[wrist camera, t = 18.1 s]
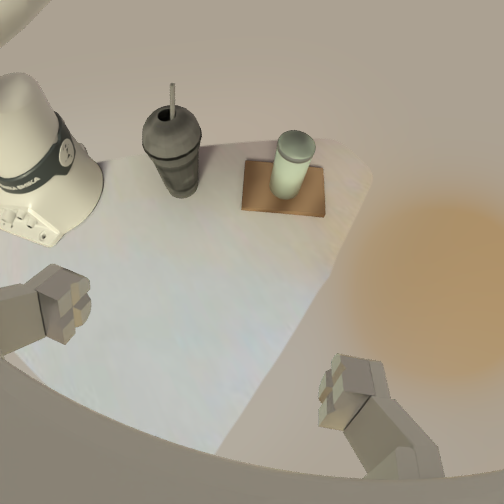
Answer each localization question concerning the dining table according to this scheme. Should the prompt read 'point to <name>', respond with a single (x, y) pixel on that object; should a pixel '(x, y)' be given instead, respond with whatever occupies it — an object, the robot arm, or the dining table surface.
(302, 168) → the sage tube
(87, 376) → the dining table surface
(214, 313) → the dining table surface
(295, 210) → the walnut board
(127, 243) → the dining table surface
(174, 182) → the beverage cup
